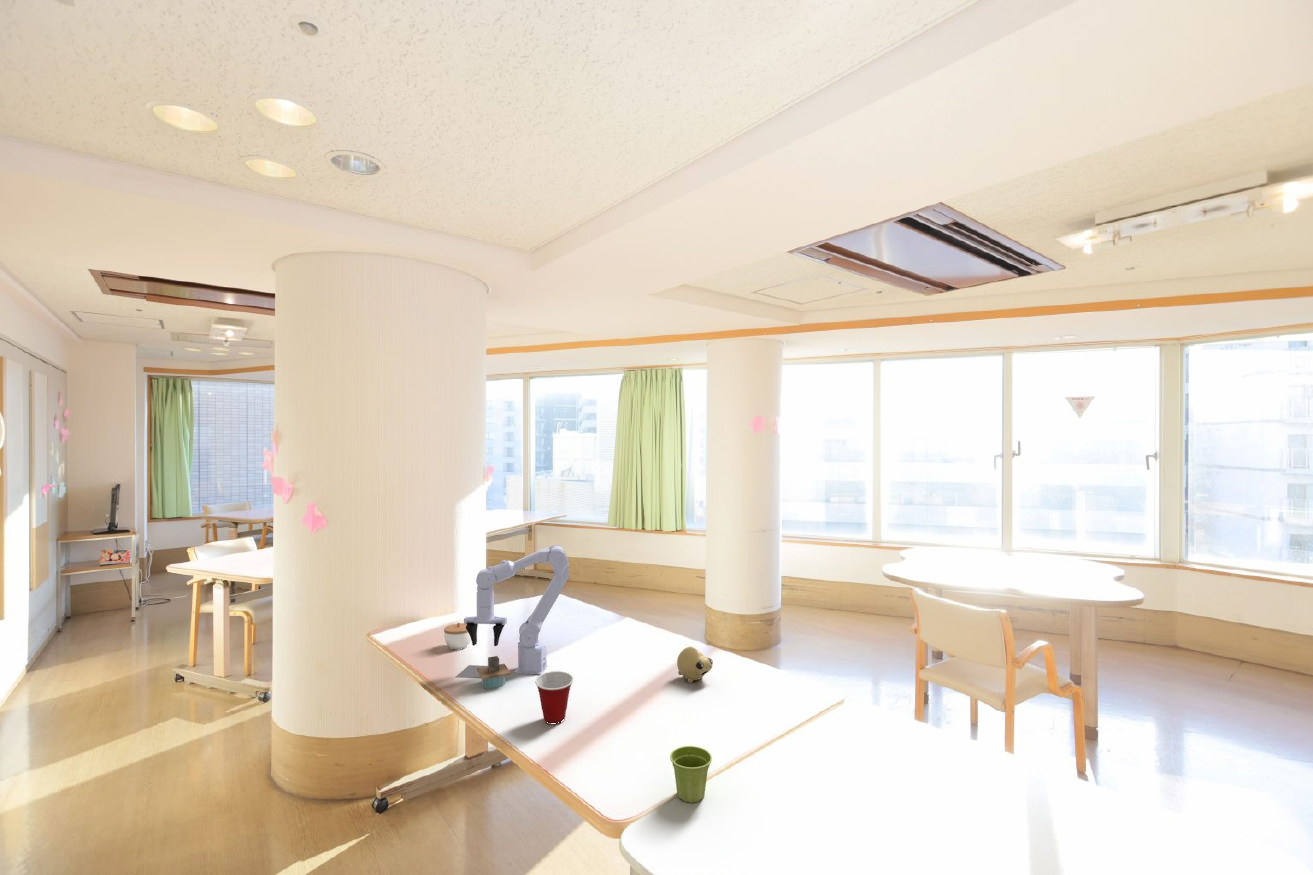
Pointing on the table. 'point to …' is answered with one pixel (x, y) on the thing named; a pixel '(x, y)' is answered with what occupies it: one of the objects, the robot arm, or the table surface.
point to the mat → (470, 672)
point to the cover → (493, 669)
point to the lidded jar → (457, 636)
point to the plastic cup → (554, 694)
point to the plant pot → (690, 772)
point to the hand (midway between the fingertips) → (485, 644)
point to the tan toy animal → (693, 664)
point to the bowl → (493, 682)
